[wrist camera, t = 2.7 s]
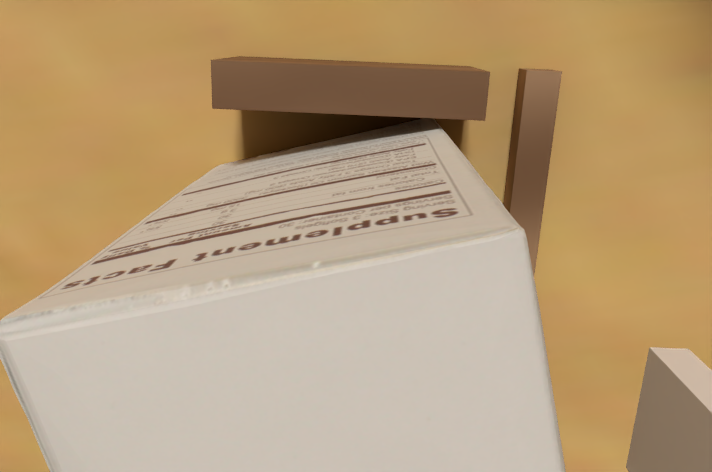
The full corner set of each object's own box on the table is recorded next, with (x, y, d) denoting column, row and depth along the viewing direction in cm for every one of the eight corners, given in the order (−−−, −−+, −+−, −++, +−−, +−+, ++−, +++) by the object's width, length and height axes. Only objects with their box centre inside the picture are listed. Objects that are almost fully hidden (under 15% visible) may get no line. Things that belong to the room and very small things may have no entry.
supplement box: (475, 321, 22) (604, 680, 9) (267, 359, 22) (140, 739, 10) (438, 108, 19) (544, 222, 7) (210, 157, 20) (-38, 333, 8)
